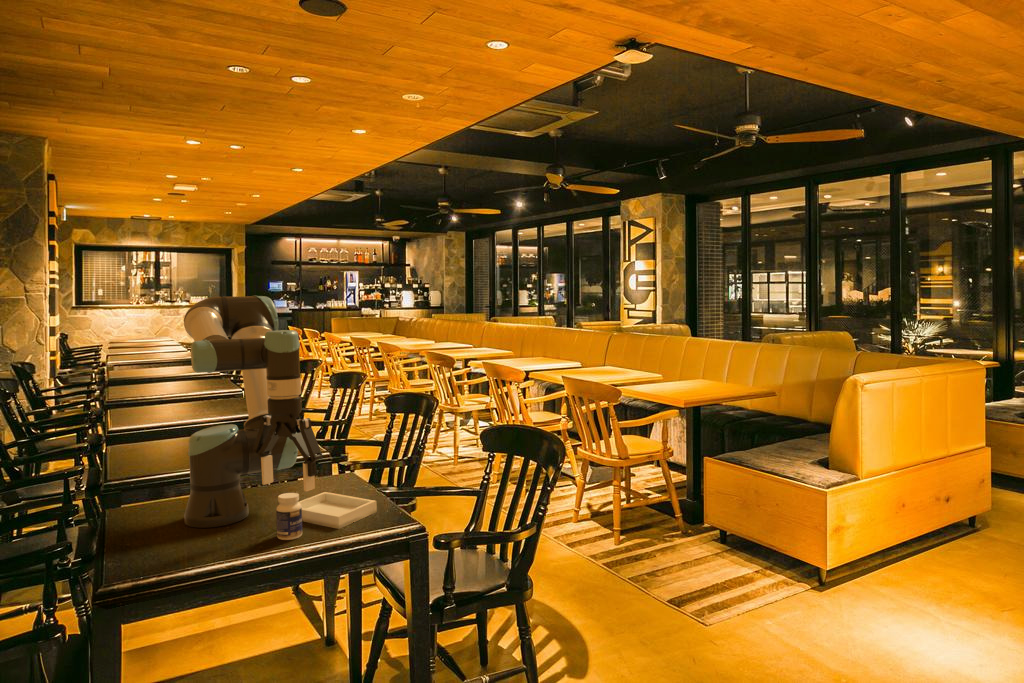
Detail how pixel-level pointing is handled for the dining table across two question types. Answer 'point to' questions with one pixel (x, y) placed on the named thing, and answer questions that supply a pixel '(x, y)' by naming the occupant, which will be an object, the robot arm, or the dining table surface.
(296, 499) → the pill bottle
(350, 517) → the serving tray
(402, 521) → the dining table surface
